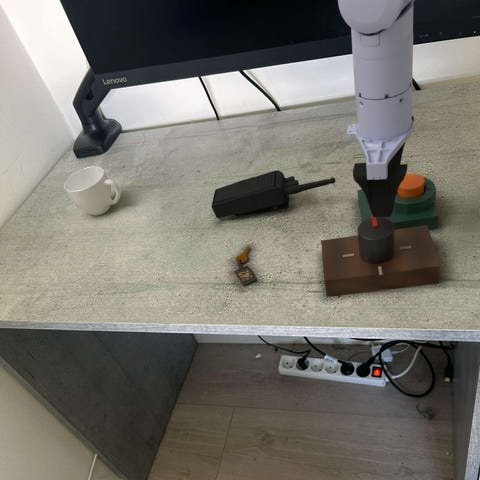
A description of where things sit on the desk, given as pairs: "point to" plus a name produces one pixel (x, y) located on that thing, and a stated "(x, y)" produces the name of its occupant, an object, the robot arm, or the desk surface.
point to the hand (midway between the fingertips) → (385, 195)
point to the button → (411, 186)
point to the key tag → (244, 269)
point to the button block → (408, 209)
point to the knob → (376, 239)
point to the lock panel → (380, 264)
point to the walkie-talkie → (259, 194)
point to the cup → (92, 190)
